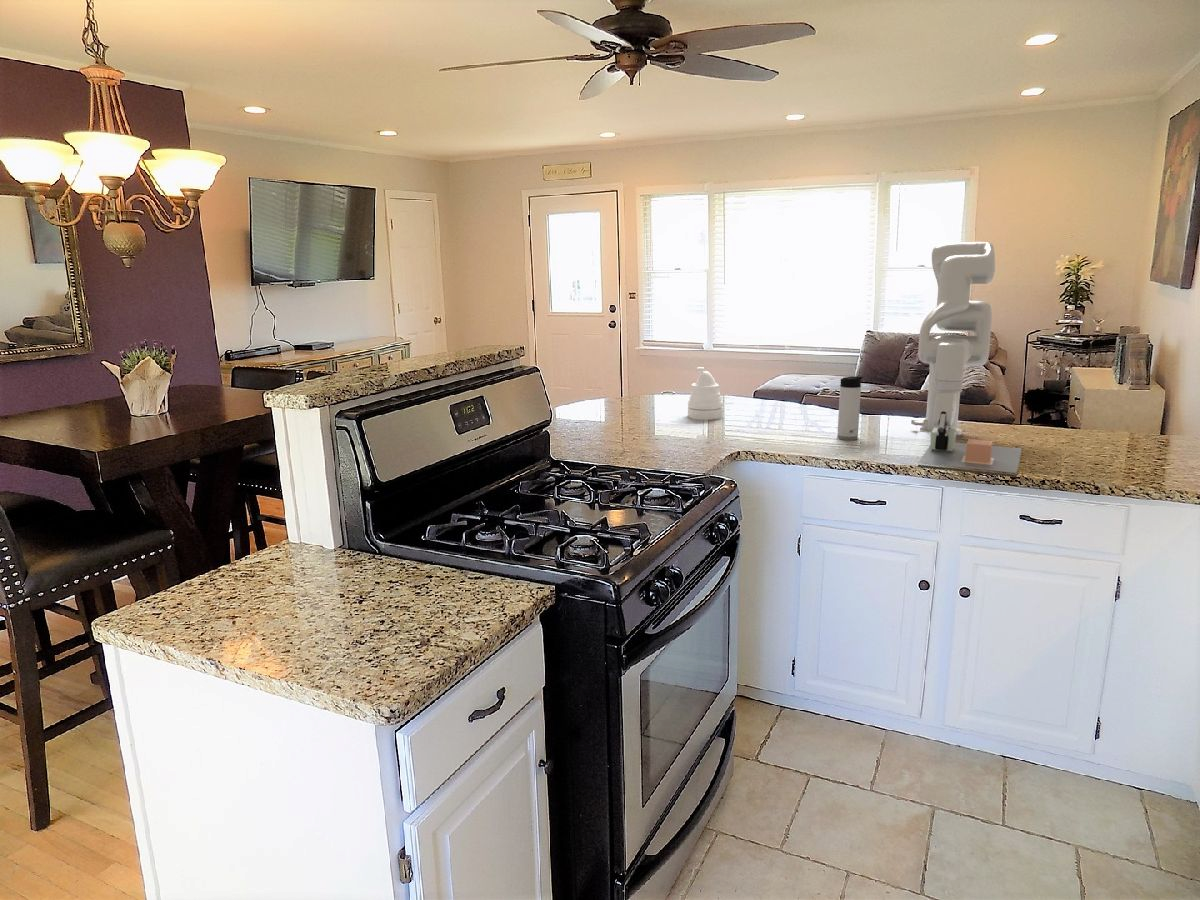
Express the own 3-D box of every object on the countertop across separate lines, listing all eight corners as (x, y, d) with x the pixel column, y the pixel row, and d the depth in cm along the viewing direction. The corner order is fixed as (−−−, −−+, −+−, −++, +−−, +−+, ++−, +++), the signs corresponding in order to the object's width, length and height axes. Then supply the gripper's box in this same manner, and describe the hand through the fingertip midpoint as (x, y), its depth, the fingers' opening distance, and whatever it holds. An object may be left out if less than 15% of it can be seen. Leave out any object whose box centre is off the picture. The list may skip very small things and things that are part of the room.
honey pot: (686, 419, 285) (687, 370, 281) (688, 412, 298) (689, 365, 293) (722, 419, 283) (723, 370, 279) (723, 413, 296) (724, 365, 291)
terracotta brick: (964, 461, 216) (966, 443, 214) (967, 456, 221) (968, 439, 220) (989, 463, 213) (991, 445, 212) (990, 458, 218) (992, 441, 217)
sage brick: (930, 448, 228) (931, 432, 226) (932, 444, 233) (934, 427, 231) (952, 451, 225) (954, 434, 223) (954, 446, 230) (956, 429, 228)
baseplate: (917, 466, 215) (918, 462, 215) (932, 444, 241) (933, 440, 240) (1016, 477, 204) (1016, 472, 203) (1021, 452, 229) (1021, 448, 229)
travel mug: (855, 441, 247) (859, 377, 242) (834, 439, 250) (838, 376, 246) (861, 437, 252) (864, 375, 247) (840, 435, 255) (843, 374, 251)
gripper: (937, 380, 233) (932, 439, 238) (929, 389, 219) (924, 452, 223) (965, 381, 229) (959, 441, 234) (958, 391, 215) (953, 455, 220)
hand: (942, 446), depth 229 cm, fingers closed on sage brick, 5 cm apart
